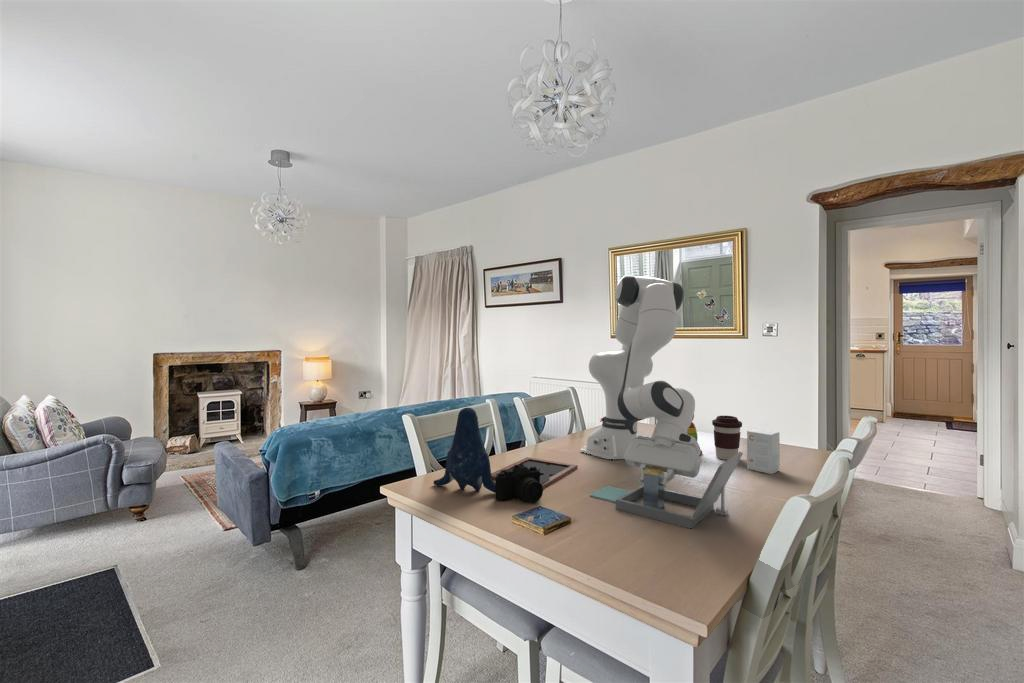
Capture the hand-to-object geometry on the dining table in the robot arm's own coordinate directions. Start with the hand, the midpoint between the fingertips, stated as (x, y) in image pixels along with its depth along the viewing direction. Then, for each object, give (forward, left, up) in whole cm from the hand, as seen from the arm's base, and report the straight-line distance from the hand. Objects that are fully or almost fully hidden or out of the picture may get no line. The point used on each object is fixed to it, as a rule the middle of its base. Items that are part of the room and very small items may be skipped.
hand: (652, 483), depth 129 cm
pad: (-12, +2, -6) cm, 14 cm away
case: (+7, +1, -6) cm, 9 cm away
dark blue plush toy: (-47, -22, -7) cm, 53 cm away
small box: (+14, +55, -7) cm, 57 cm away
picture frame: (-43, +4, -7) cm, 44 cm away
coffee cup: (0, +63, -7) cm, 63 cm away
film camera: (-31, -17, -7) cm, 36 cm away
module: (0, +1, -6) cm, 6 cm away
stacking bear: (-14, +59, -7) cm, 61 cm away
